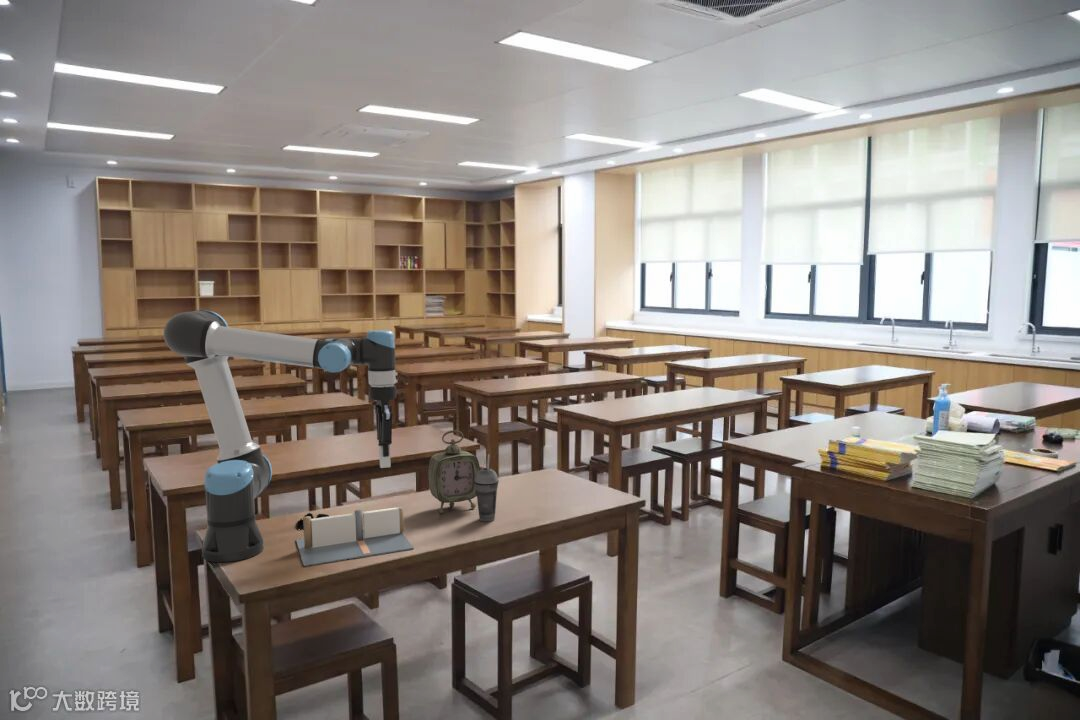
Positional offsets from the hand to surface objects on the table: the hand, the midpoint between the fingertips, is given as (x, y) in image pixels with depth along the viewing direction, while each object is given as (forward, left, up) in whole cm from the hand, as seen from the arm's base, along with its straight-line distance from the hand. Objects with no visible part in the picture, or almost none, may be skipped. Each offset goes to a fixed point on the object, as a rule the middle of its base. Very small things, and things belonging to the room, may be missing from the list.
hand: (385, 466), depth 208 cm
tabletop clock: (+23, +10, -19) cm, 31 cm away
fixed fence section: (-16, -6, -18) cm, 25 cm away
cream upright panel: (-2, -6, -18) cm, 19 cm away
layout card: (-11, -9, -18) cm, 23 cm away
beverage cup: (+29, -4, -19) cm, 35 cm away
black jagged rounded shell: (-19, +14, -19) cm, 30 cm away
